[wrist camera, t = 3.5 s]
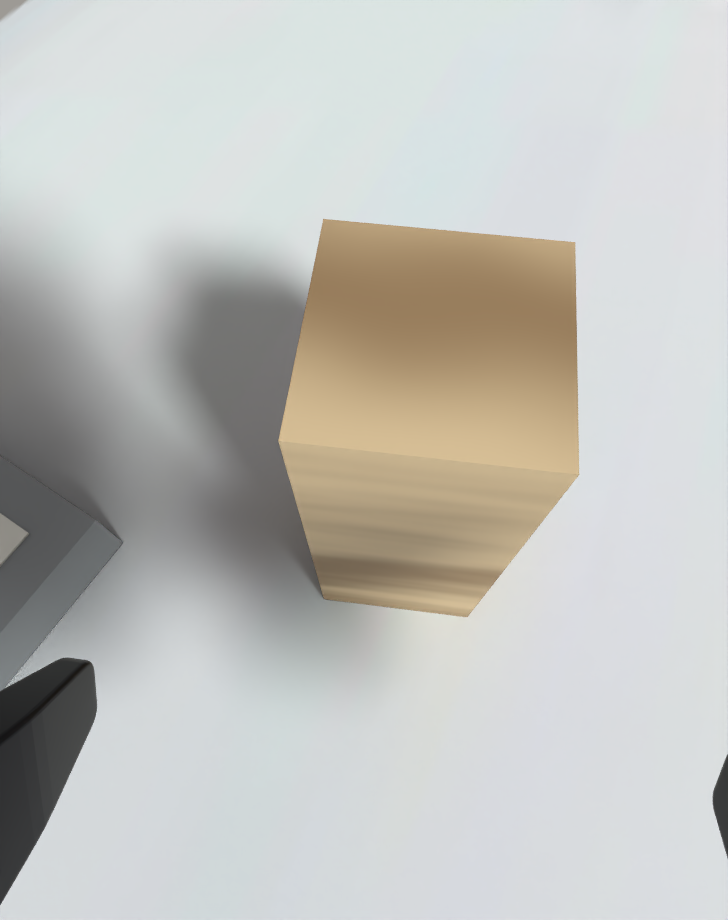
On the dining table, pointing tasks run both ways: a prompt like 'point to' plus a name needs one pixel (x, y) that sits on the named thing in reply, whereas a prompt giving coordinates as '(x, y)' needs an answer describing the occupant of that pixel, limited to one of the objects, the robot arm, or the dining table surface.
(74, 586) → the base tile
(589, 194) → the dining table surface
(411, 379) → the oak post
